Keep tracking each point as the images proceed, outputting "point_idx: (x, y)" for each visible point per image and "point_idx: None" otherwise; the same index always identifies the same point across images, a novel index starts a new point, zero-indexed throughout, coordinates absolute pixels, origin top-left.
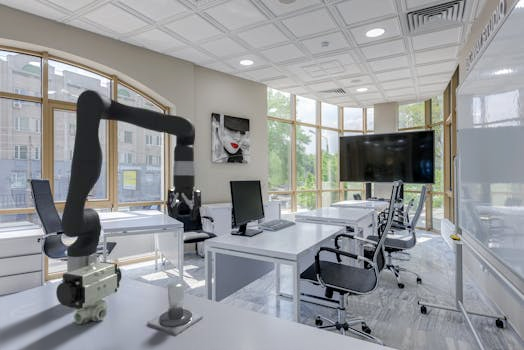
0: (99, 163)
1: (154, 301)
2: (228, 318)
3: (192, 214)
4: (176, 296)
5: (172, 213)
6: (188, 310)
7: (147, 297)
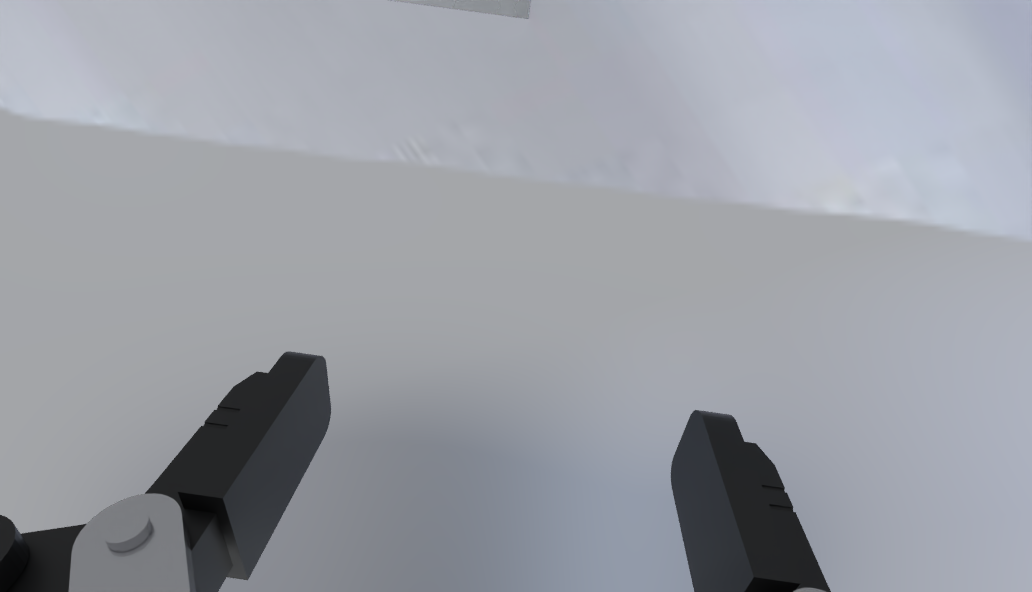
0: None
1: (689, 47)
2: (246, 36)
3: (239, 425)
4: None
5: (751, 469)
6: (438, 5)
7: (756, 74)
